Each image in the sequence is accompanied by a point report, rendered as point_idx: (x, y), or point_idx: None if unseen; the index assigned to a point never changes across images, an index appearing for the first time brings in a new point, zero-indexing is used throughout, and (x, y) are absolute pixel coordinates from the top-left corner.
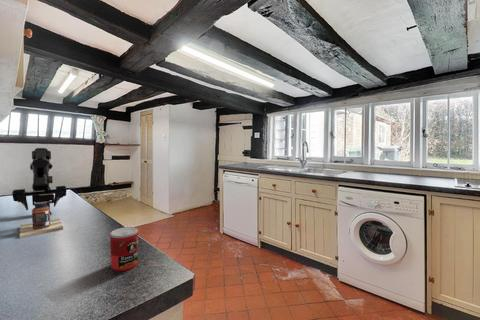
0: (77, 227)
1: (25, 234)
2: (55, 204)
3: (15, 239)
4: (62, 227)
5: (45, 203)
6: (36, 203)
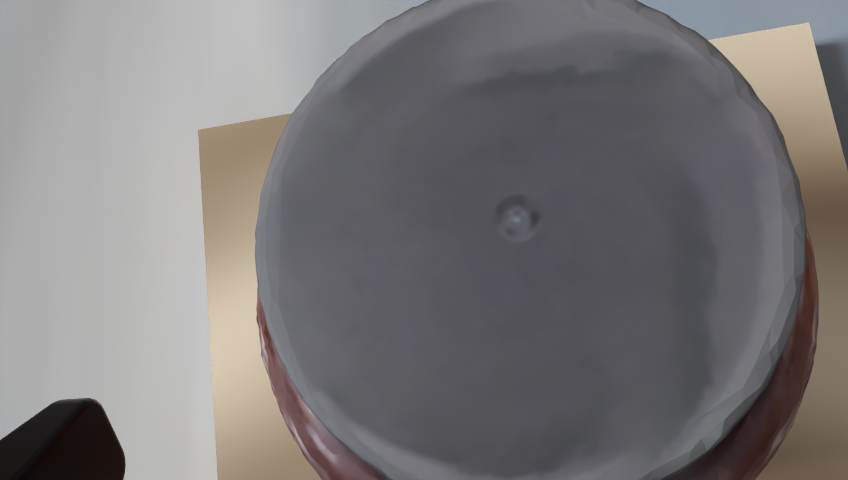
0: (32, 145)
1: (728, 40)
2: (13, 457)
3: (843, 22)
4: (211, 128)
5: (304, 129)
6: (702, 132)
